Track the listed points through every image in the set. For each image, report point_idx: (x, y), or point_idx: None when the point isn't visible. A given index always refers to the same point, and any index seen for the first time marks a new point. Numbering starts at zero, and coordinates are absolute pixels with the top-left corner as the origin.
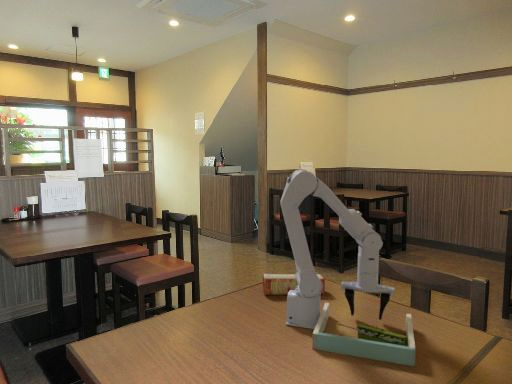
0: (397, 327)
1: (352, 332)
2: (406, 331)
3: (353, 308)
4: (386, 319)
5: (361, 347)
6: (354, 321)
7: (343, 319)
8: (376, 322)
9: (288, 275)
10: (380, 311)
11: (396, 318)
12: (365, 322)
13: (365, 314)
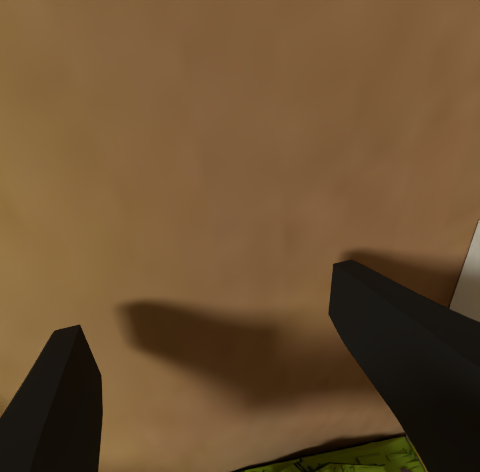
0: (425, 250)
1: (155, 444)
2: (465, 314)
3: (91, 446)
4: (372, 159)
5: None
6: (113, 331)
7: (2, 352)
8: (289, 255)
9: None
10: (385, 390)
11: (461, 92)
12: (205, 299)
13: (169, 142)
